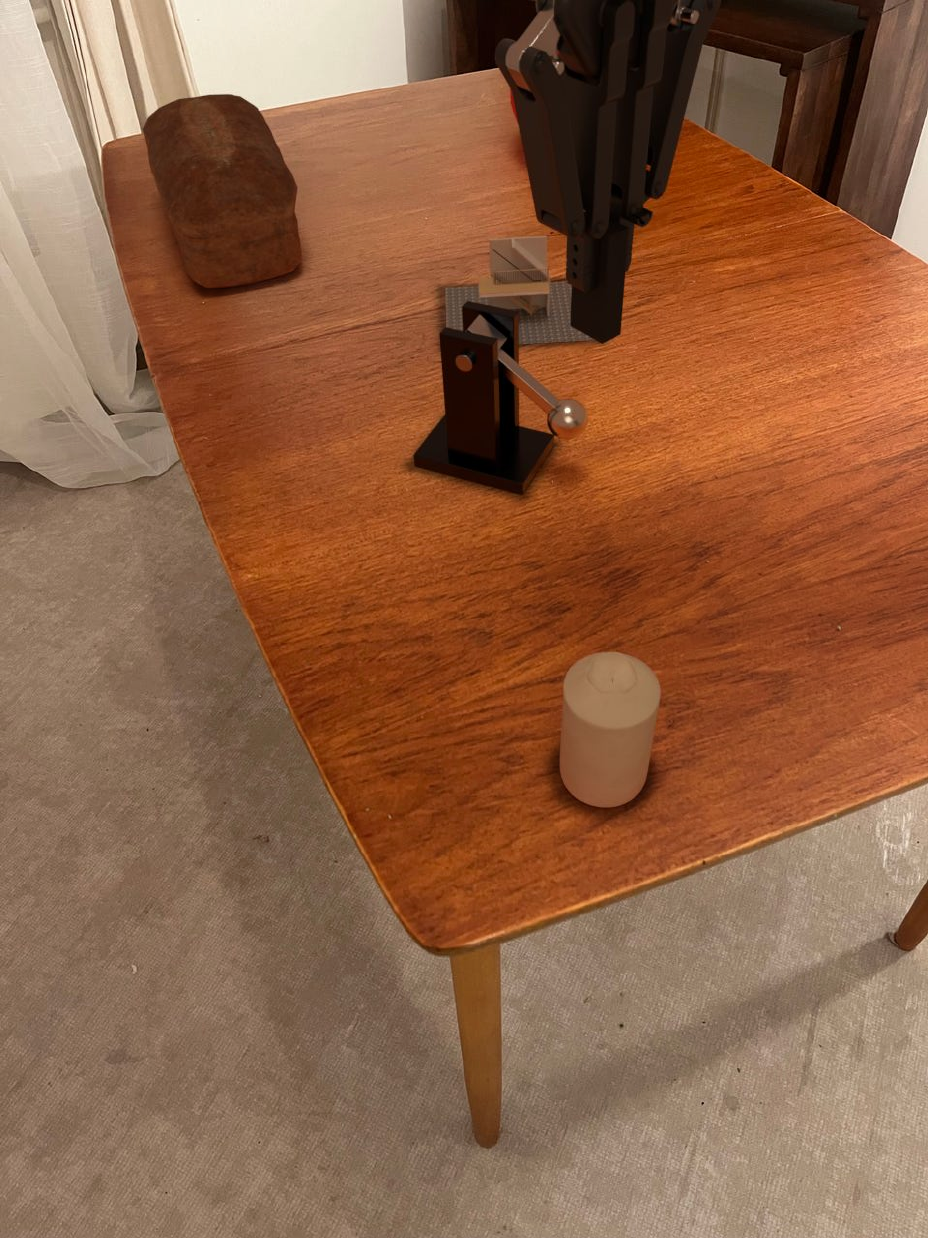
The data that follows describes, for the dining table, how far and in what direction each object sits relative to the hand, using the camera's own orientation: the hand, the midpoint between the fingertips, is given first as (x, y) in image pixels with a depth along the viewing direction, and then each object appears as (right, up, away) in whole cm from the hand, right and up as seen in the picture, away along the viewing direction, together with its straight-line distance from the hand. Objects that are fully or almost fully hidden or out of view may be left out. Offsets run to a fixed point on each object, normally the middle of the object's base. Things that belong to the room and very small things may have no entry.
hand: (595, 329), depth 58 cm
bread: (-34, +27, +55) cm, 70 cm away
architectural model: (-2, +14, +41) cm, 43 cm away
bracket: (-6, -3, +26) cm, 27 cm away
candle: (+1, -27, +4) cm, 27 cm away
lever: (-4, +1, +20) cm, 20 cm away
